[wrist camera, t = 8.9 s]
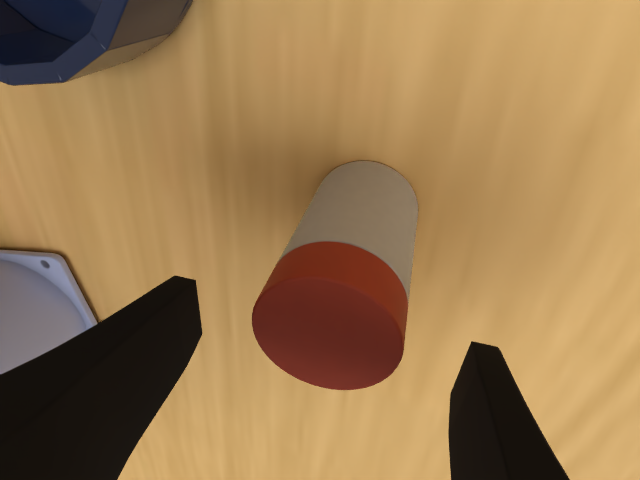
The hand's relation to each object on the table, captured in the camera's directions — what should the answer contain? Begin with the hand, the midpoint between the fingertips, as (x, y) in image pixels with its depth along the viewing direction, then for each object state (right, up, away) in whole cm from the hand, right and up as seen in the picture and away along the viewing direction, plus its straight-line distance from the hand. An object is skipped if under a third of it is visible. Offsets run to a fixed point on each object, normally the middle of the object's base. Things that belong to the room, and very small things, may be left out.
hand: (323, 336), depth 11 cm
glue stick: (+2, +4, +5) cm, 7 cm away
